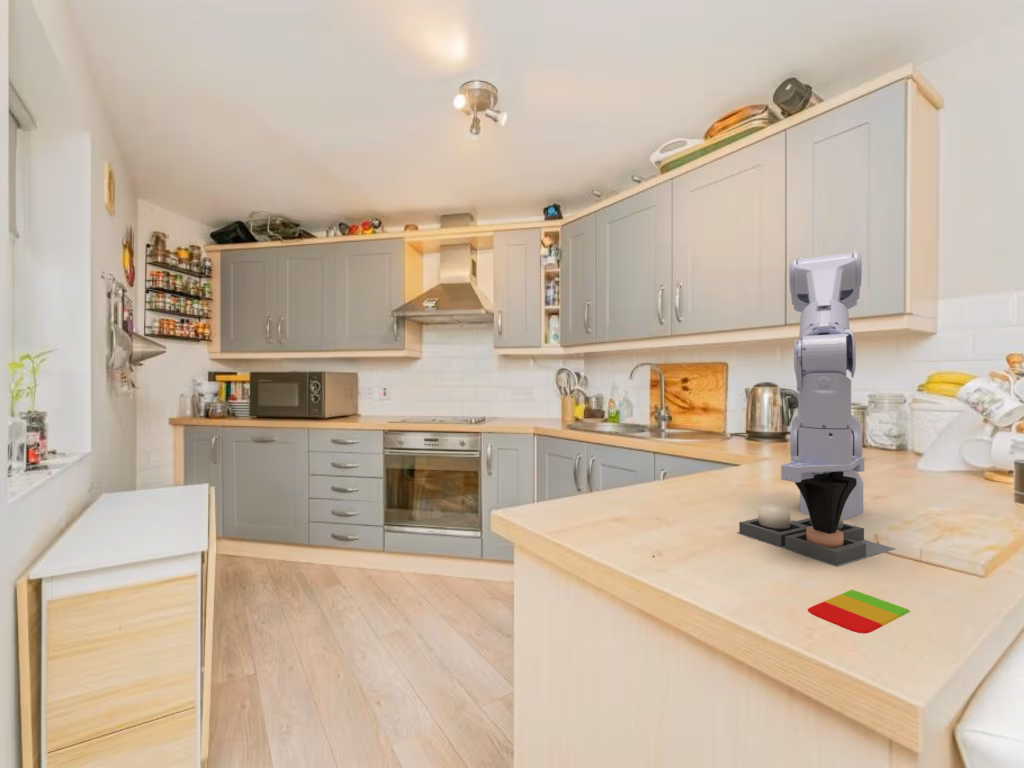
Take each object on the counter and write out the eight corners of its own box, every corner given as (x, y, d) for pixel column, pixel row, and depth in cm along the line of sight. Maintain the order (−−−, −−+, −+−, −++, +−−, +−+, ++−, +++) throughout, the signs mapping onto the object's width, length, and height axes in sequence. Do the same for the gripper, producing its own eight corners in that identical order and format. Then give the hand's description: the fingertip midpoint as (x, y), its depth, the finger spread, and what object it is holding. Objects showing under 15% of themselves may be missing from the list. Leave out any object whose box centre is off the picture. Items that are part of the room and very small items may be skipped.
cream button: (770, 518, 70) (770, 502, 70) (796, 526, 66) (796, 509, 66) (752, 522, 68) (752, 506, 68) (778, 530, 64) (778, 513, 64)
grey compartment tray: (792, 527, 74) (792, 510, 74) (895, 557, 62) (895, 536, 62) (736, 540, 69) (736, 521, 69) (837, 576, 56) (837, 553, 56)
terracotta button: (818, 541, 63) (818, 524, 63) (850, 551, 60) (850, 532, 60) (799, 546, 62) (799, 528, 62) (831, 556, 58) (831, 537, 58)
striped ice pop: (800, 627, 46) (800, 608, 46) (877, 593, 53) (877, 576, 53) (864, 657, 41) (864, 635, 41) (939, 614, 48) (939, 596, 48)
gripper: (825, 421, 67) (826, 515, 67) (758, 427, 61) (759, 530, 61) (882, 425, 61) (882, 529, 61) (813, 432, 55) (814, 548, 55)
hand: (824, 531), depth 61 cm, fingers closed, pressing on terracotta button
